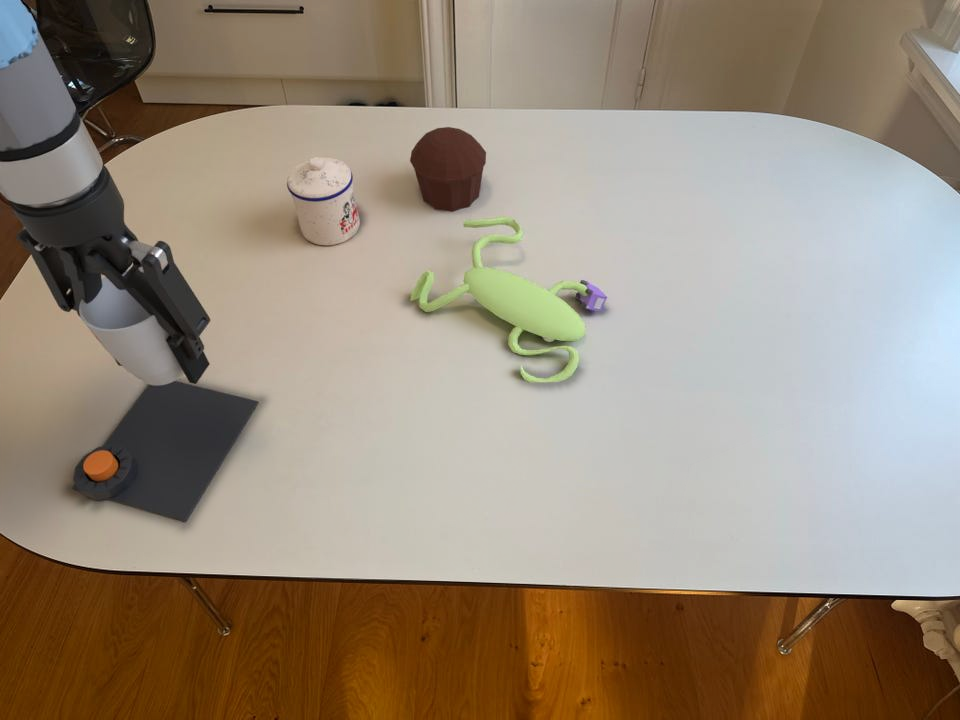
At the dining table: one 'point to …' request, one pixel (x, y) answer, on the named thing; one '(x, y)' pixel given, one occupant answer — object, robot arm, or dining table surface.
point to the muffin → (448, 168)
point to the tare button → (100, 465)
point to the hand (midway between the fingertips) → (164, 364)
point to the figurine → (519, 300)
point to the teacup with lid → (324, 200)
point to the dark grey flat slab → (169, 448)
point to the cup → (131, 335)
